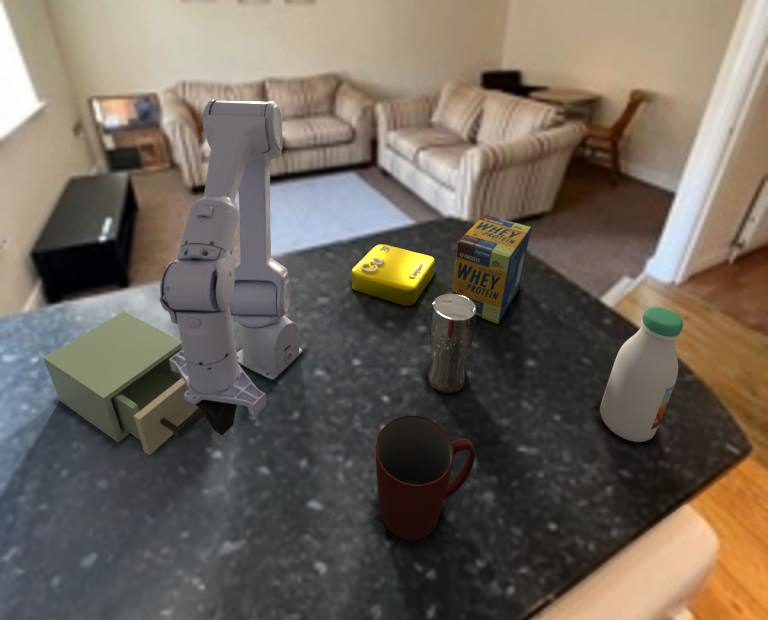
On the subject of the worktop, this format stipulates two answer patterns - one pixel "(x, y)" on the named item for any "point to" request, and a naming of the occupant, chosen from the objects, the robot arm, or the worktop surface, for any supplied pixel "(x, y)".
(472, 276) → the protein box
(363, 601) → the worktop surface
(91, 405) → the cabinet
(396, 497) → the mug
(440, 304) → the beer glass
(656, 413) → the milk bottle
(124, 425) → the drawer
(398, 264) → the element tile
